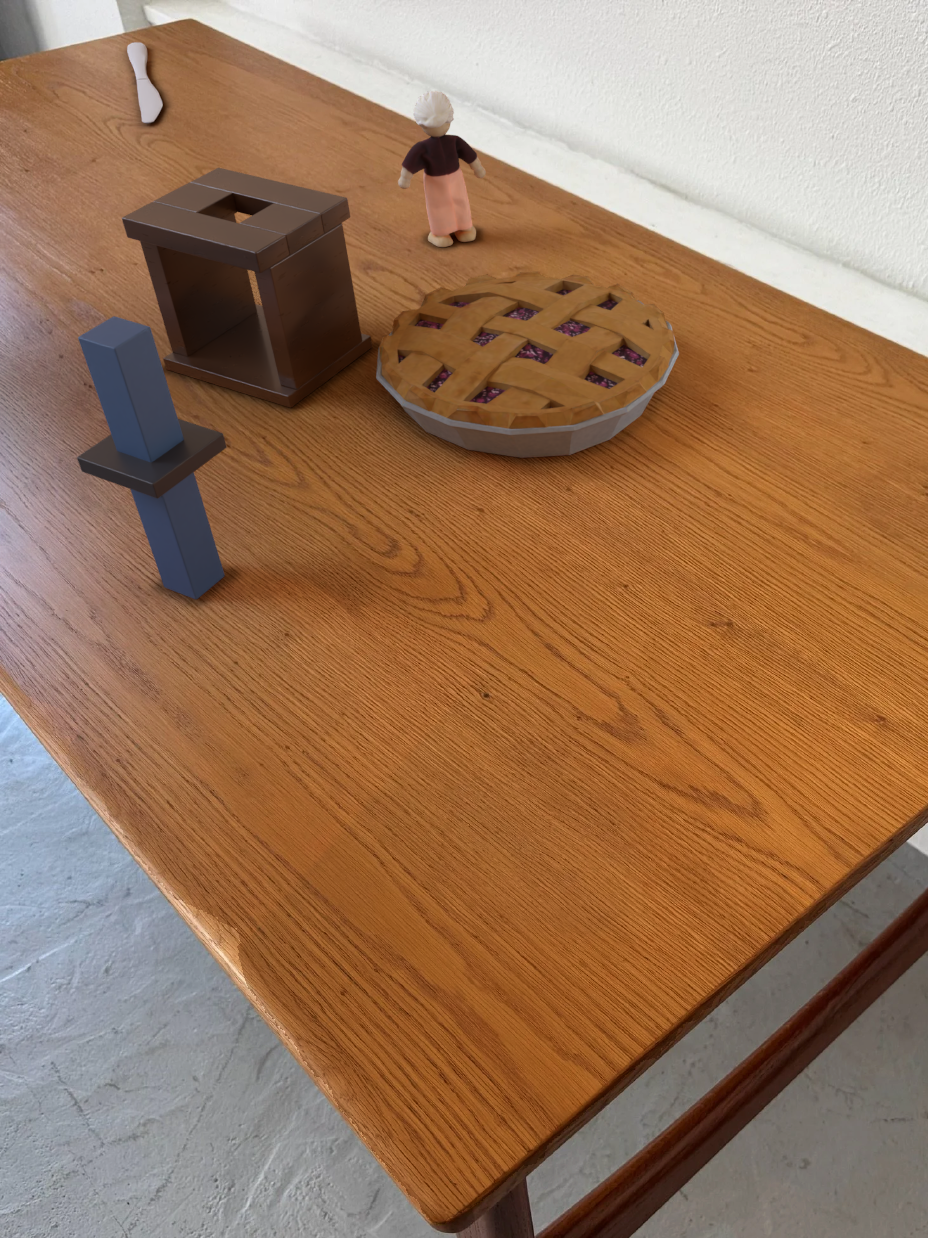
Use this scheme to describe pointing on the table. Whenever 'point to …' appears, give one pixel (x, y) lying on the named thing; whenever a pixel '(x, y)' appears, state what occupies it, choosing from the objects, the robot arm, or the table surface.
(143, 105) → the butter knife
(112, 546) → the table surface
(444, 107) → the grandmother figurine
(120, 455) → the peg
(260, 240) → the stand
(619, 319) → the pie
